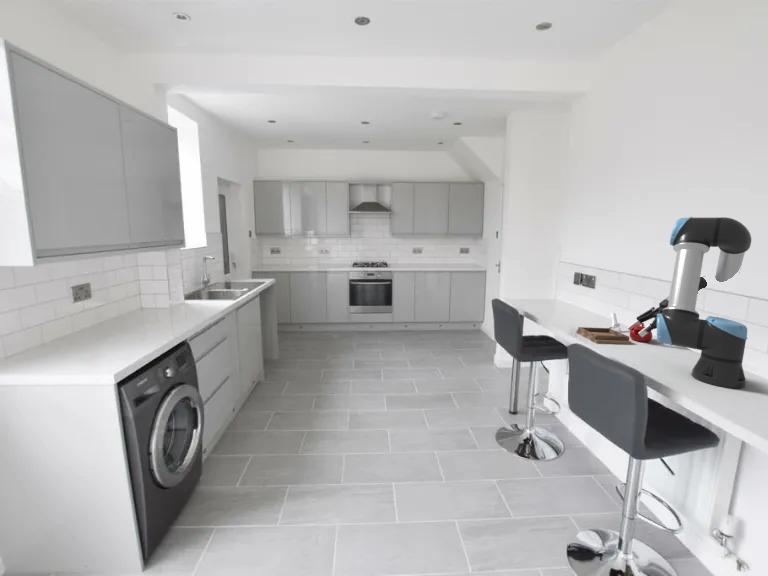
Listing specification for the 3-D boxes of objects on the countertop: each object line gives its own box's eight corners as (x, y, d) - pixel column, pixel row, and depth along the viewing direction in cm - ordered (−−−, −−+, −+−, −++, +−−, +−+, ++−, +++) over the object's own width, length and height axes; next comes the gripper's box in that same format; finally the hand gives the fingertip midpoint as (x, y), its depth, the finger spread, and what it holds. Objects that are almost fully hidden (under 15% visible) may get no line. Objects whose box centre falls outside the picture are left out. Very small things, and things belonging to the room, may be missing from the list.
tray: (630, 344, 187) (631, 337, 187) (596, 343, 187) (597, 336, 187) (607, 333, 207) (608, 327, 206) (576, 332, 207) (576, 326, 207)
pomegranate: (643, 338, 200) (645, 321, 199) (656, 343, 190) (659, 325, 189) (624, 337, 200) (626, 320, 199) (636, 342, 190) (639, 324, 189)
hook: (611, 318, 222) (620, 314, 216) (615, 337, 217) (625, 333, 211) (600, 316, 221) (610, 311, 215) (604, 335, 215) (614, 331, 209)
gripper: (691, 314, 180) (651, 344, 184) (663, 305, 202) (627, 332, 206) (681, 302, 180) (641, 332, 184) (653, 295, 202) (618, 322, 206)
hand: (634, 332), depth 195 cm, fingers closed on pomegranate, 10 cm apart
